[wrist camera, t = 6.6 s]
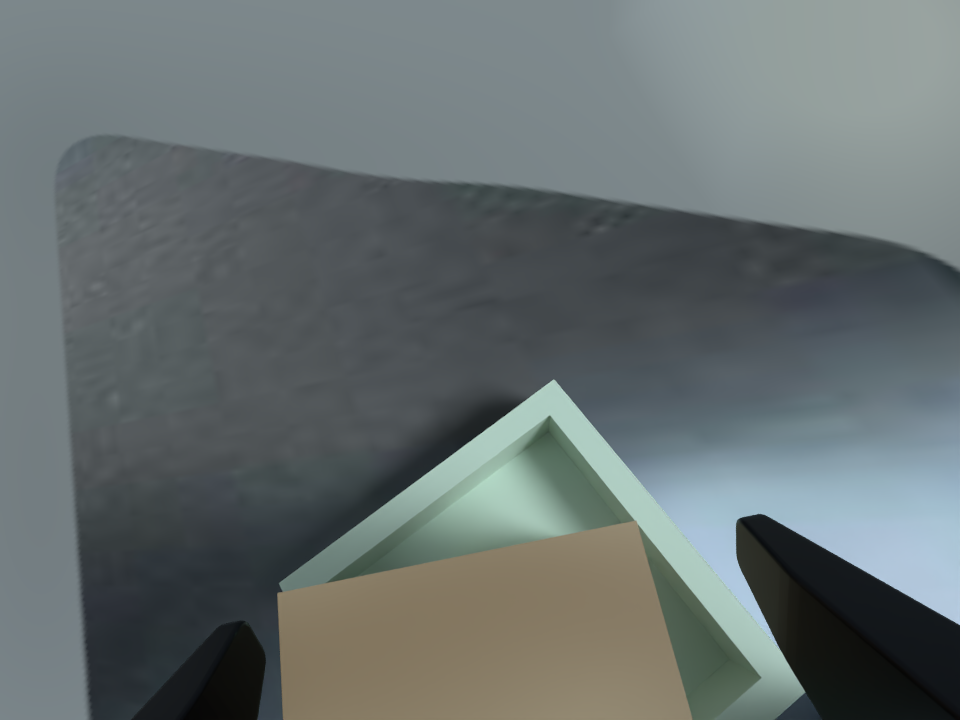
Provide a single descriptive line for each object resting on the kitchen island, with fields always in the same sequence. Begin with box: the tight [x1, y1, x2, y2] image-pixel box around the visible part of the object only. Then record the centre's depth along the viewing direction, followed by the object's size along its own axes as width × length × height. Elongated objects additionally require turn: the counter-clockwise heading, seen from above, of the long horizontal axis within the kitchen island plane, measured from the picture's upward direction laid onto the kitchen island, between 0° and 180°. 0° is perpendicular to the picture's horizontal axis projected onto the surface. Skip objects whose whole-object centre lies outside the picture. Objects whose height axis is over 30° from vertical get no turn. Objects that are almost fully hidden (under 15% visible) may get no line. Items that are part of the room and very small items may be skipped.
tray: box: [279, 380, 805, 720], centre depth 15 cm, size 10×10×3 cm
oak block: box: [277, 520, 693, 720], centre depth 11 cm, size 4×4×12 cm
